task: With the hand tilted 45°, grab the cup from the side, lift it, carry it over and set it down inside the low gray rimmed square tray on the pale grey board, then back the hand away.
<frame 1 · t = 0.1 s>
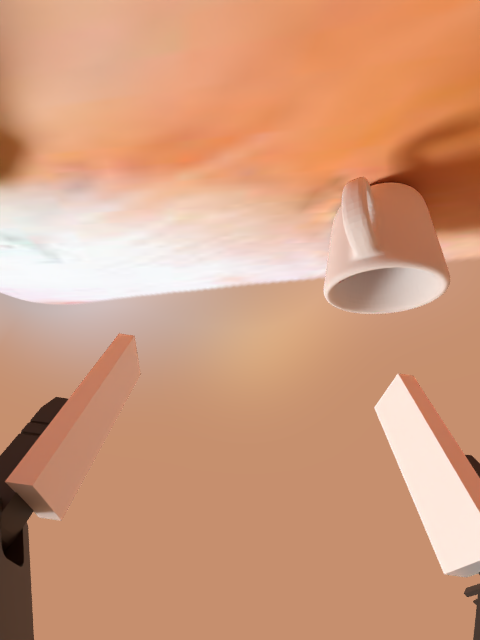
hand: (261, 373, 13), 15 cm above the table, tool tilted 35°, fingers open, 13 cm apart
cup: (370, 195, 20), on the table
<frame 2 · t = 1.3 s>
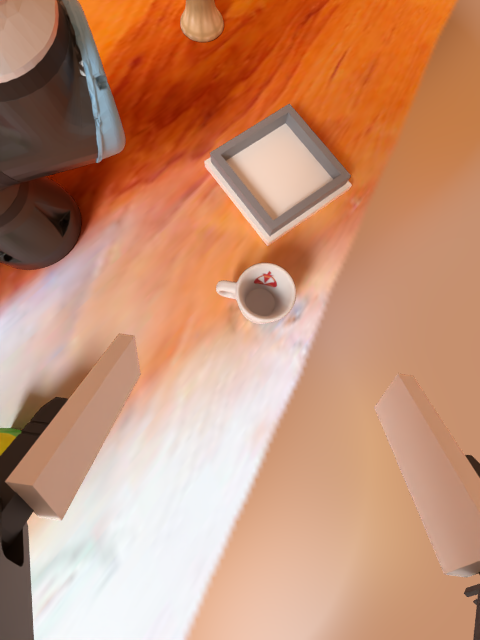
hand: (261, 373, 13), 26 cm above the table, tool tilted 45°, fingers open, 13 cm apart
gray rimmed square tray: (277, 178, 44), on the table
fruit basket: (37, 447, 36), on the table
hand bell: (202, 26, 48), on the table
cup: (250, 302, 41), on the table
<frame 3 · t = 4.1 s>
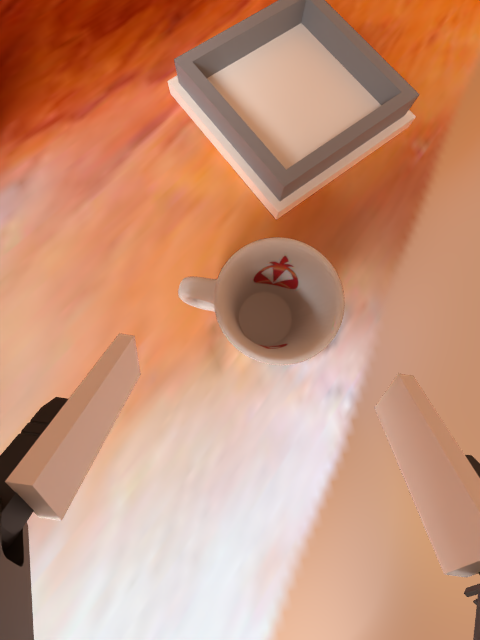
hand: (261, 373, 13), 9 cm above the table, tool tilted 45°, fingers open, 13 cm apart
gray rimmed square tray: (289, 110, 27), on the table
cup: (248, 317, 23), on the table
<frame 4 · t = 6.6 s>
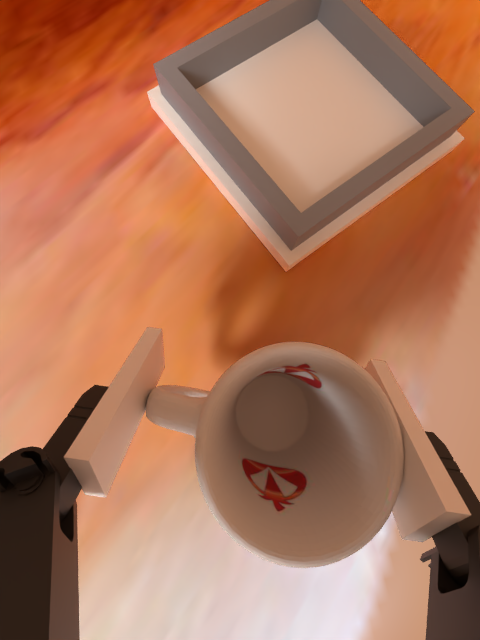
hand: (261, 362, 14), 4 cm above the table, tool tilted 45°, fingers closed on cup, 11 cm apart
gray rimmed square tray: (302, 129, 21), on the table
cup: (249, 404, 17), on the table, touching gripper
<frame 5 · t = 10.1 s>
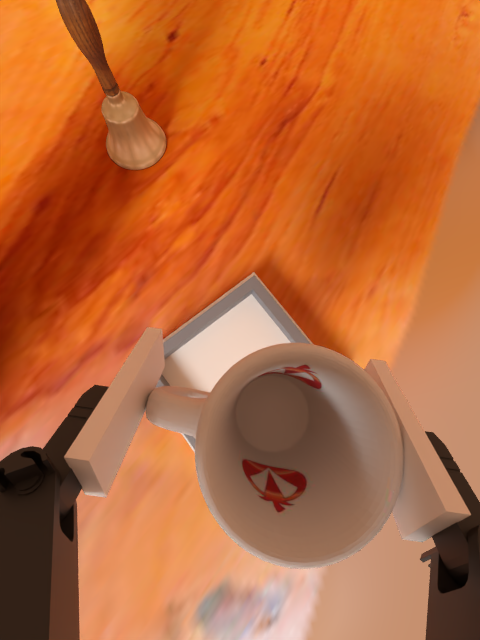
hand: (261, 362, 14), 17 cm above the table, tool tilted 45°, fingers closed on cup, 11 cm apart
gray rimmed square tray: (241, 376, 30), on the table
hand bell: (137, 145, 35), on the table
cup: (249, 405, 17), point 13 cm above the table, touching gripper
when the fingers open (7 cm above the table, at t = 13.7 s): cup drops 1 cm, resting on gray rimmed square tray.
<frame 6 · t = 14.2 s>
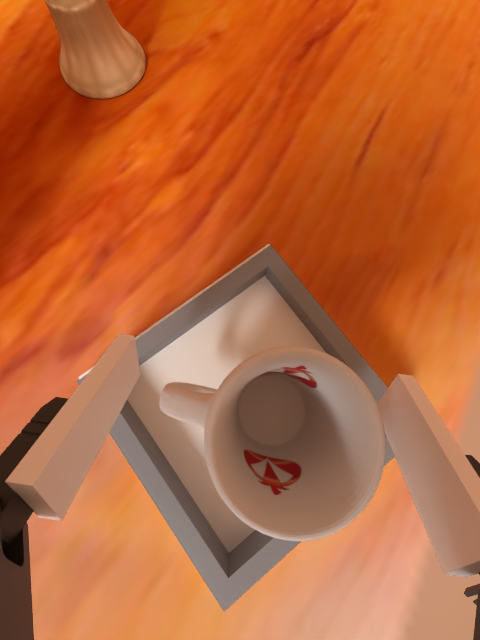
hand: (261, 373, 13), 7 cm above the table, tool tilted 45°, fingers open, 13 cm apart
gray rimmed square tray: (247, 399, 20), on the table
hand bell: (105, 67, 25), on the table
cup: (250, 402, 19), point 1 cm above the table, touching gray rimmed square tray
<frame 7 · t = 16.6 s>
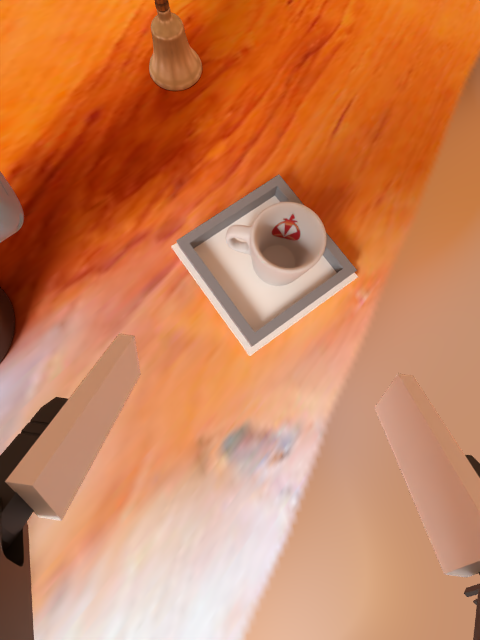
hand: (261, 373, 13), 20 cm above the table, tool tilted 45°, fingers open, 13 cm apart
gray rimmed square tray: (263, 264, 35), on the table
hand bell: (176, 70, 40), on the table
cup: (265, 262, 34), point 1 cm above the table, touching gray rimmed square tray
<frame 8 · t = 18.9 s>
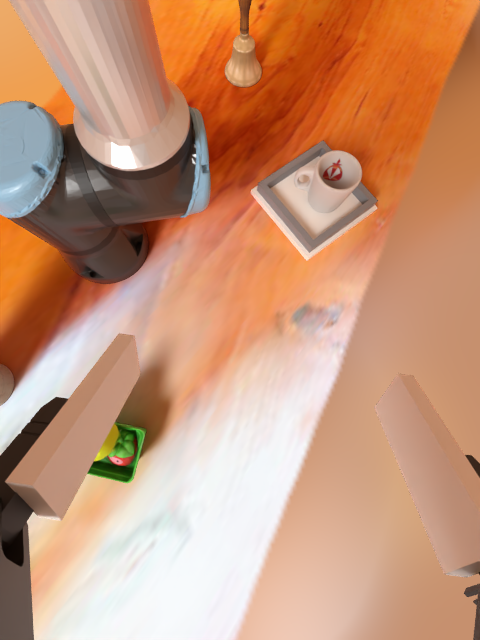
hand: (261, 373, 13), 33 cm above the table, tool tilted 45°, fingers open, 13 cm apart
gray rimmed square tray: (312, 202, 51), on the table
fruit basket: (118, 434, 43), on the table
hand bell: (243, 73, 56), on the table
cup: (315, 199, 50), point 1 cm above the table, touching gray rimmed square tray
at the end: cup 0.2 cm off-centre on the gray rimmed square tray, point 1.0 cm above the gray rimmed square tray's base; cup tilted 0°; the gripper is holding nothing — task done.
